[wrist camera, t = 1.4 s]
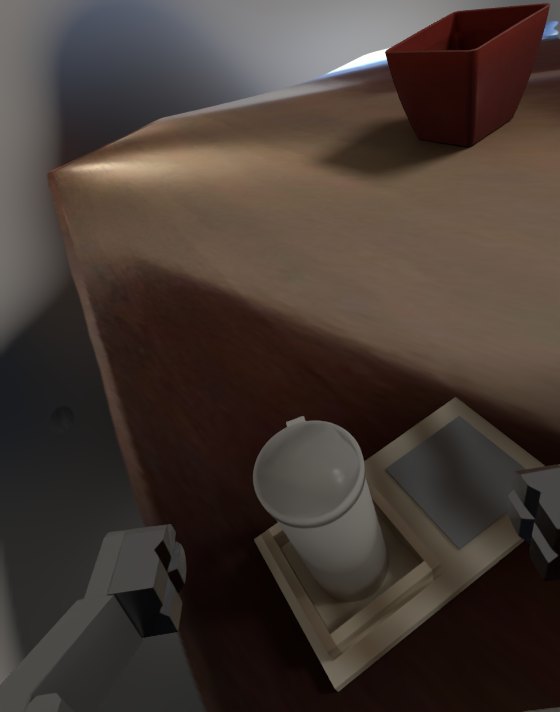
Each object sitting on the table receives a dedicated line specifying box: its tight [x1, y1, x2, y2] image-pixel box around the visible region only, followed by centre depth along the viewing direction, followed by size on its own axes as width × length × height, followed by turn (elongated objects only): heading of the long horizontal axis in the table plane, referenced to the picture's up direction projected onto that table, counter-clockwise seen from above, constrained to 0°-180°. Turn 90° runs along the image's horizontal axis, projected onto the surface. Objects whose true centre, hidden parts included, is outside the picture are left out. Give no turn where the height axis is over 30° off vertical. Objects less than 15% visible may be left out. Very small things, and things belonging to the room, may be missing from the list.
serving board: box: [254, 397, 544, 692], centre depth 38 cm, size 24×13×4 cm, turn 120°
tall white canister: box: [253, 416, 389, 602], centre depth 33 cm, size 10×7×15 cm
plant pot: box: [385, 3, 550, 146], centre depth 82 cm, size 19×19×17 cm
